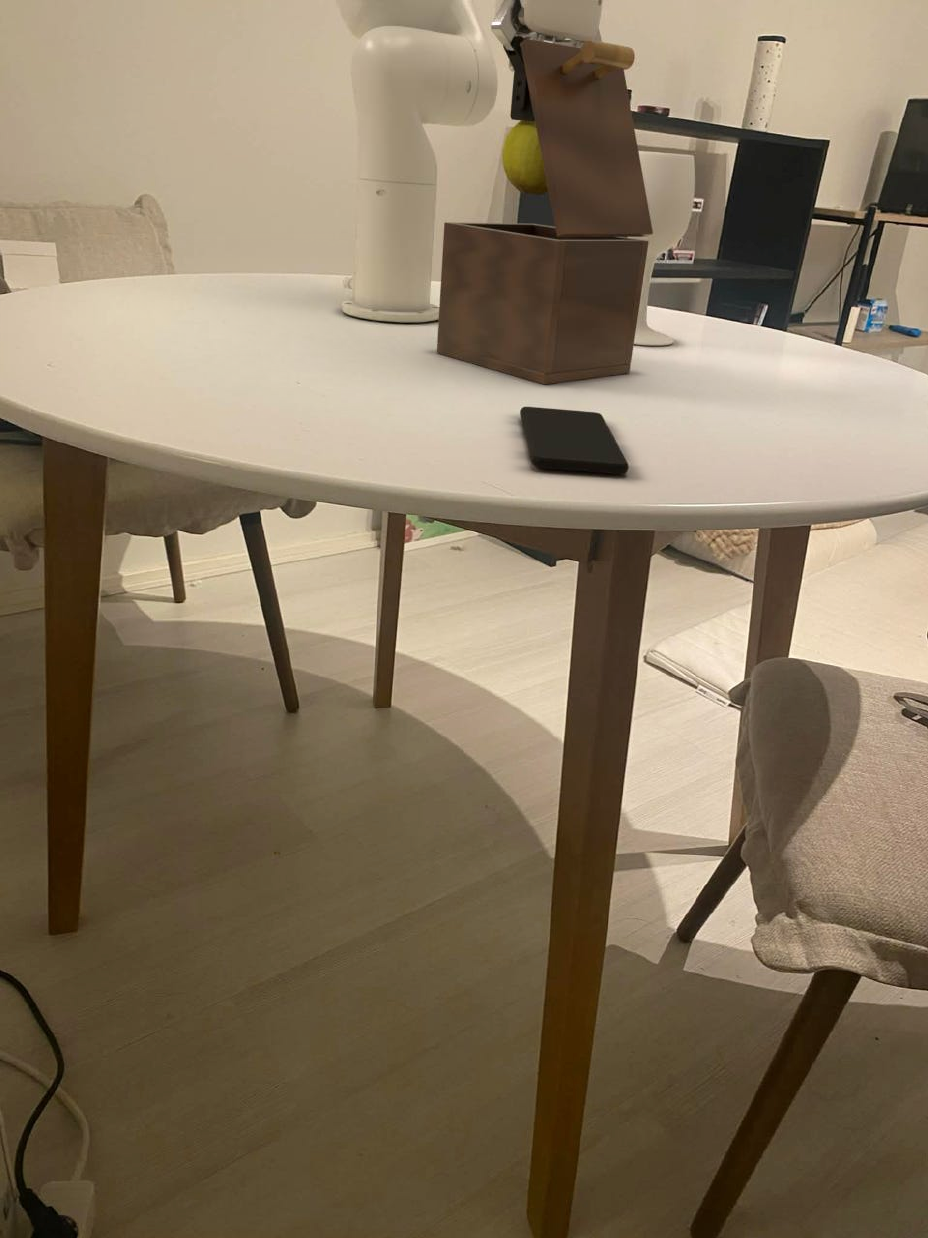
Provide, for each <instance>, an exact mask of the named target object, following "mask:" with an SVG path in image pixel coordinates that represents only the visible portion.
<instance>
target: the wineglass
mask: <svg viewBox="0 0 928 1238" xmlns="http://www.w3.org/2000/svg"><path fill="white" fill-rule="evenodd" d="M638 152H639V158H640V163H641V169H642V174H643V180H644V186H645V191H646V197H647V202H648V208H649V213H650V219H651V225H652V230H653V234H652V235H649V236H647V237H626V238H633V239H640V240H646V241H649V243H648V250H647V257H646V264H645V270H644V277H643V284H642V291H641V298H640V305H639V312H638V318H637V325H636V332H635V339H634V345H637V346H649V347H650V346H652V347H655V346H656V347H657V346H658V347H659V346H668V345H673V343H674V340H673V338H671V337H670V336H669V335H667V334H665V333H663V332H661V331H658V330H655V329H652V328H650V326H649V325H648V321H647V319H648V317H647V316H648V315H647V313H648V303H649V294H650V286H651V282H652V281H651V280H652V276H653V275H652V274H653V271H654V267H655V264H656V261H657V259H658V257H659V256H661V255H662V254H664V253H665V252H667V251H668V250H670V249H672V248H673V247H674V246H675V245H677V244H678V243H679V242H680V241H681V240H682V238H683V237H684V236H685V234H686V233H687V230H688V228H689V225H690V222H691V218H692V214H693V208H694V204H695V203H694V201H695V193H696V192H695V191H696V165H695V156H694V155H692V154H683V153H682V154H681V153H669V152H668V153H667V152H657V151H645V150H638Z"/></svg>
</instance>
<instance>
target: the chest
mask: <svg viewBox="0 0 928 1238" xmlns="http://www.w3.org/2000/svg"><path fill="white" fill-rule="evenodd" d="M442 238H443V239H442V255H441V271H440V272H441V273H440V286H439V287H440V289H439V303H438V304H439V305H438V307H439V319H438V322H437V341H436V353H437V354H439V355H443V356H446V357H450V358H453V359H456V360H460V361H463V362H466V363H470V364H474V365H476V366H479V367H483V368H487V369H490V370H493V371H496V372H500V373H503V374H507V375H511V376H514V377H517V378H521V379H524V380H526V381H527V380H528V381H530V382H535V383H537V384H541V385H550V384H551V385H552V384H558V383H565V382H573V381H574V382H575V381H580V380H588V379H594V378H595V379H596V378H603V377H610V376H617V375H618V376H619V375H625V374H630V372H631V364H632V358H633V352H634V346H635V344H634V339H635V332H636V325H637V318H638V312H639V305H640V298H641V291H642V284H643V277H644V270H645V264H646V257H647V250H648V243H649V241H646V240H640V239H633V238H627V237H558V236H557V233H556V228H555V226H553V225H546V224H540V223H539V224H538V223H521V222H519V223H517V222H516V223H513V222H511V223H510V222H509V223H507V222H447V221H446V222H444V224H443V237H442Z"/></svg>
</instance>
